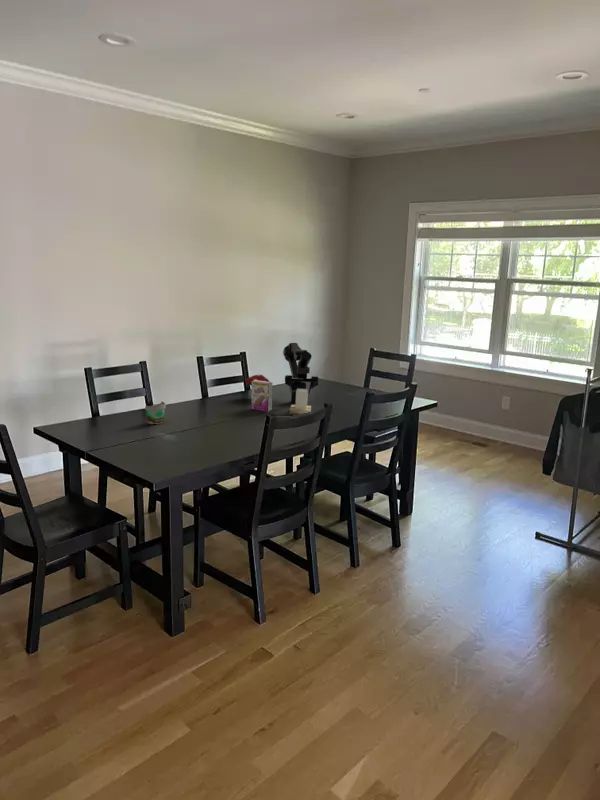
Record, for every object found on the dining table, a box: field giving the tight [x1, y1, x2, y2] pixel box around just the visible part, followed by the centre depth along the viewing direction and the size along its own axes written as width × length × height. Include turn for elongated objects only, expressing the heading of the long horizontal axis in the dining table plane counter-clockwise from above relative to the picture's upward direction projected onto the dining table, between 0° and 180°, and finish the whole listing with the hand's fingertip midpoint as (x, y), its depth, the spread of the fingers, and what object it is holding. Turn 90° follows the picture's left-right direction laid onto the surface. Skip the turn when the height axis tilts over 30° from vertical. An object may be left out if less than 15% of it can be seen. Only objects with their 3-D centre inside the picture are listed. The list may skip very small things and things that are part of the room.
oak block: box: [289, 404, 312, 415], centre depth 346 cm, size 11×11×3 cm
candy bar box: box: [250, 380, 274, 413], centre depth 346 cm, size 11×5×16 cm, turn 65°
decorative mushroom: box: [245, 374, 271, 386], centre depth 370 cm, size 16×16×15 cm
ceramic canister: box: [294, 388, 309, 409], centre depth 345 cm, size 6×6×10 cm
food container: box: [144, 401, 167, 423], centre depth 315 cm, size 12×6×10 cm, turn 148°
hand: (300, 393), depth 343 cm, fingers open, 9 cm apart
